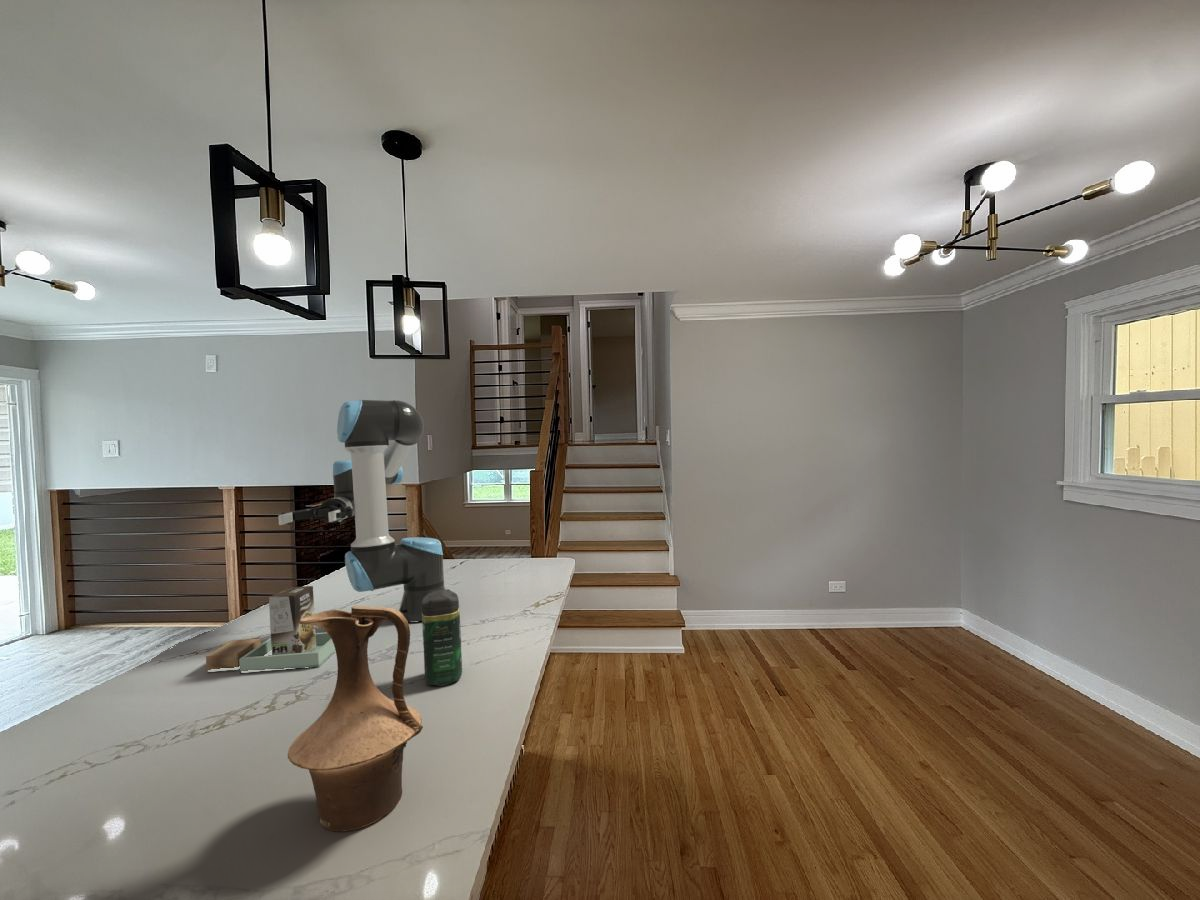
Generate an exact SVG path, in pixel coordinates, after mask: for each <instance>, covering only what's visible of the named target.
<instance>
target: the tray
mask: <svg viewBox="0 0 1200 900" xmlns="http://www.w3.org/2000/svg"><path fill="white" fill-rule="evenodd" d="M271 650H272V648H271V637H269V638H268V639H267V640H265V641H263V642H262V643H261V645H259V646H258V647H256V648H255V649H253V650H252V651H250V652H249V653H247V654H246V655H244V656H243V657H242V658H240V659H239V663H240V670H239V672H240V671H248V670H265V669H284V668H305V667H319V668H320V667H322V665H324V663H326V661H328V660H329V659H330V658H331V657H332V656H333V655H334V654H335V653H336V652H335V651H336V650H335V646H334V644H333V641H332V639H331V637H330V636H329V634H328V633H327V632H326V631H325V632H316V649H315V650H313V651H312V652H306V653H293V654H281V655H268V656H264V655H265V654H267V653H268V652H269V651H271ZM334 652H335V653H334ZM333 653H334V654H333ZM332 654H333V655H332ZM331 655H332V656H331ZM330 656H331V657H330ZM329 657H330V658H329ZM328 658H329V659H328ZM327 659H328V660H327Z"/></svg>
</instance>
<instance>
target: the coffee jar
mask: <svg viewBox="0 0 1200 900" xmlns="http://www.w3.org/2000/svg"><path fill="white" fill-rule="evenodd" d="M421 606H422V622H421V623H422V624H421V625H422V641H423V644H422V645H423V663H424V664H423V665H424V666H423V667H424V669H423V670H424V680H425V681H424V682H426V685H429V686H438V687H439V686H448V685H451V684H452V683H454V682H458V681H459V680H460V679H461V678H462V675H463V659H462V655H463V654H462V635H461V633H462V631H461V615H460V613H461V612H460V601H459V596H458V594H457V593H456V592H454V591H452V590H450V589H449V588H447V589H445V590H437V591H431V592H430V593H429V594H428V595H426V596H425V597H424V598H423V600H422V604H421Z"/></svg>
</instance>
